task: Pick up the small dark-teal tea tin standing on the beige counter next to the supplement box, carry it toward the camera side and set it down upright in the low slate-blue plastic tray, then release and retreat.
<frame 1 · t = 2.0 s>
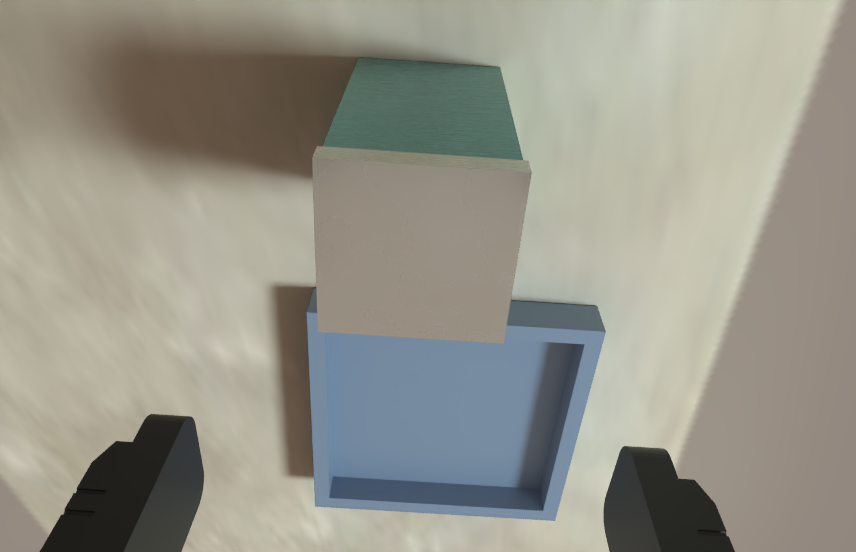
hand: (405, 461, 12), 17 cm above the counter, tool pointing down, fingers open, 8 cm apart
tea tin: (425, 129, 27), on the counter
tray: (444, 400, 35), on the counter
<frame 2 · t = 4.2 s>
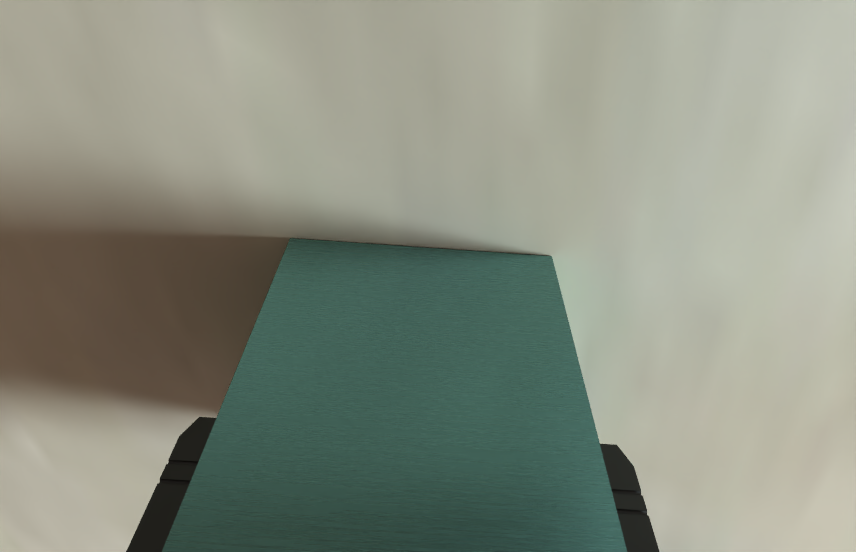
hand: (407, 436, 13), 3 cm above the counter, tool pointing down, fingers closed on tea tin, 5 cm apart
tea tin: (414, 349, 15), on the counter, touching gripper
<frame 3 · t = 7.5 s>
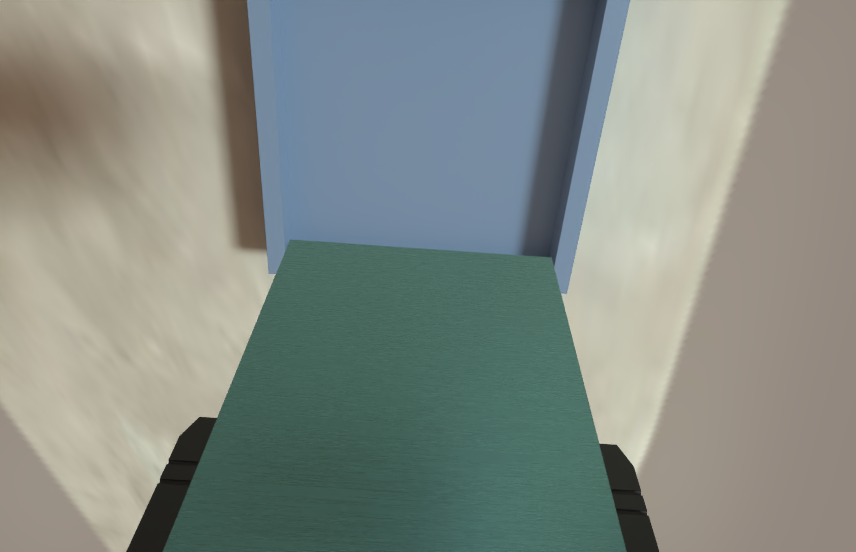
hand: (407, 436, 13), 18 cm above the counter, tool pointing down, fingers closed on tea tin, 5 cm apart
tea tin: (414, 350, 15), point 15 cm above the counter, touching gripper
tray: (428, 124, 28), on the counter
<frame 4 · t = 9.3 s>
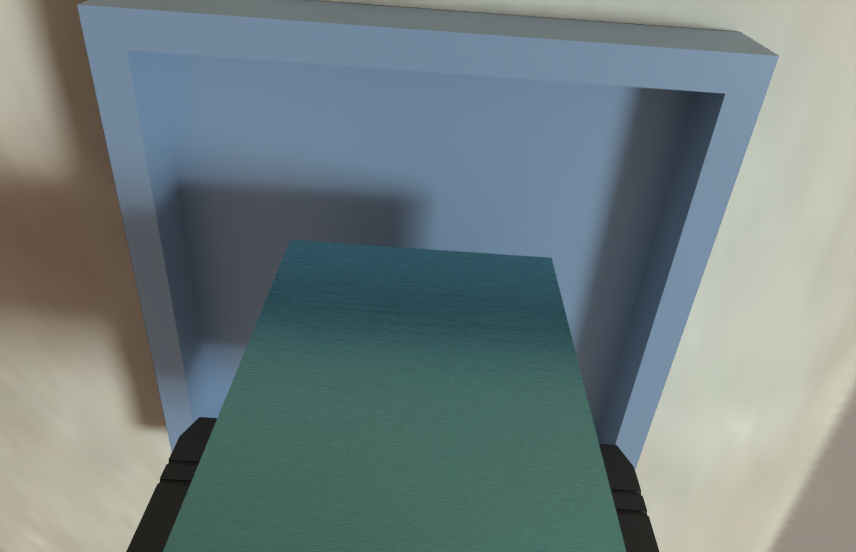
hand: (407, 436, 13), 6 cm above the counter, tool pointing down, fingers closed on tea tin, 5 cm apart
tea tin: (414, 350, 15), point 3 cm above the counter, touching gripper
tray: (415, 270, 18), on the counter
when the fingers open (4 cm above the counter, at t = 10.7 s): tea tin drops 1 cm, resting on tray.
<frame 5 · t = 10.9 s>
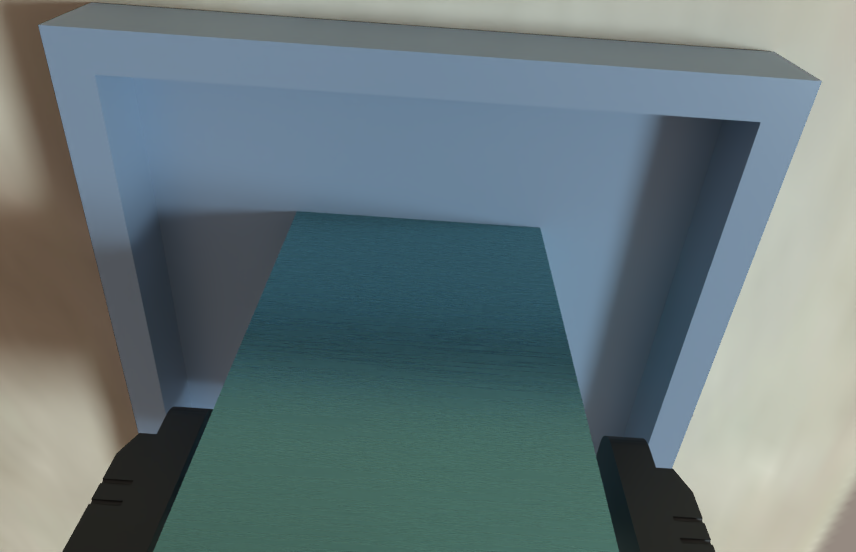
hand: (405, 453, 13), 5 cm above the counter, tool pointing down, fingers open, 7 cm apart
tea tin: (412, 317, 16), resting on tray
tray: (416, 305, 17), on the counter
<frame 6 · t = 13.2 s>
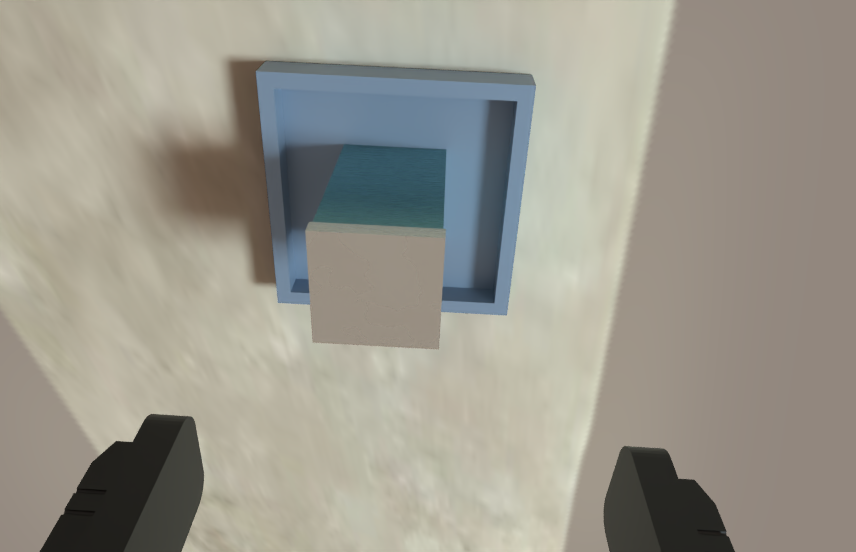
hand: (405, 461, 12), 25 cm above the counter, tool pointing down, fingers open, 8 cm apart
tea tin: (394, 193, 37), resting on tray
tray: (396, 189, 37), on the counter
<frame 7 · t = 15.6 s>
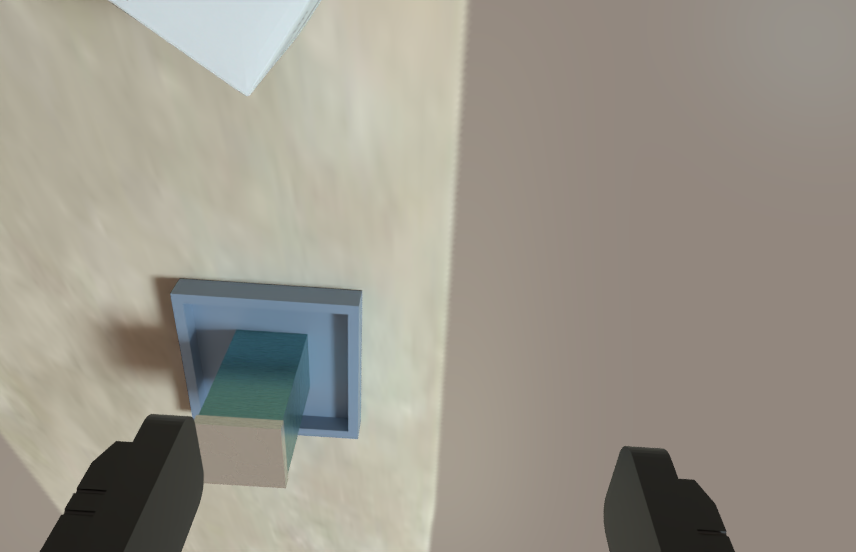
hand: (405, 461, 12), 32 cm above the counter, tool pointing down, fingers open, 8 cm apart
tea tin: (274, 359, 52), resting on tray
tray: (276, 355, 53), on the counter
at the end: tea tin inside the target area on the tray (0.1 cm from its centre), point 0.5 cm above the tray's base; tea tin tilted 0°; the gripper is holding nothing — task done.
